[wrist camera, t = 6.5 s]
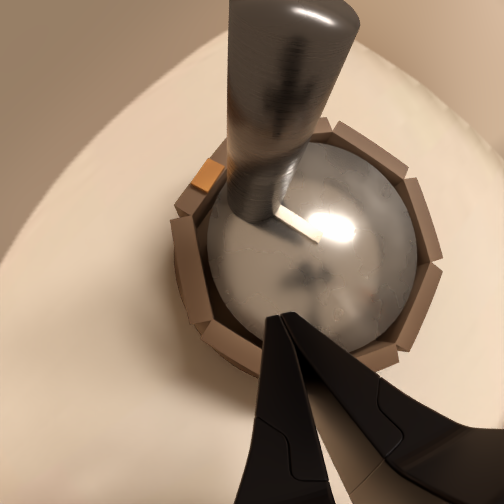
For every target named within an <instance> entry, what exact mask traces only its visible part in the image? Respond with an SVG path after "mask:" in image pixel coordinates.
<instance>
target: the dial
mask: <svg viewBox="0 0 504 504" xmlns="http://www.w3.org/2000/svg"><path fill="white" fill-rule="evenodd" d="M359 27H360V20H359V17H358V15H357V14H356V12H355V11H354V10H353V8H352V7H351V6H350V5H348V4H347V3H346V2H345V1H343V0H229V29H228V74H227V182H226V183H225V185H224V186H223V188H222V189H221V191H220V193H219V195H218V197H217V199H216V201H215V203H214V206H213V209H212V212H211V216H210V219H209V226H208V233H207V251H208V259H209V265H210V269H211V273H212V277H213V280H214V282H215V285H216V287H217V289H218V292H219V294H220V296H221V298H222V300H223V301H224V303H225V305H226V306H227V308H228V310H229V311H230V312H231V313H232V315H233V316H234V317H235V318H236V319H237V321H238V322H240V323H241V324H242V325H243V326H244V327H245V328H246V329H247V330H248V331H249V332H251V333H252V334H254V335H255V336H256V337H258V338H259V339H261V340H262V341H263V336H264V326H265V318H266V317H269V316H273V315H277V314H278V315H280V314H281V313H285V312H289V311H295V312H296V313H298V314H299V315H300V316H301V317H303V318H304V319H305V320H307V321H308V322H309V323H311V324H312V325H313V326H314V327H316V328H317V329H318V330H320V331H321V332H322V333H324V334H325V335H326V336H328V337H329V338H330V339H331V340H333V341H334V342H335V343H337V344H338V345H339V346H341V347H342V348H343V349H345V350H346V351H347V352H351V351H353V350H356V349H358V348H361V347H363V346H365V345H366V344H368V343H370V342H371V341H373V340H375V339H376V338H377V337H378V336H380V335H381V334H382V333H383V332H385V331H386V330H387V329H388V328H389V327H390V325H391V324H392V323H393V322H394V321H395V320H396V318H397V317H398V315H399V314H400V313H401V311H402V310H403V308H404V306H405V304H406V302H407V300H408V298H409V295H410V293H411V290H412V287H413V283H414V279H415V274H416V266H417V245H416V238H415V232H414V228H413V225H412V221H411V219H410V216H409V213H408V211H407V209H406V207H405V205H404V203H403V201H402V199H401V197H400V196H399V194H398V193H397V191H396V190H395V188H394V187H393V186H392V185H391V183H390V182H389V181H388V180H387V179H386V178H385V177H384V176H383V175H382V174H381V173H380V172H379V171H378V170H377V169H376V168H375V167H373V166H372V165H371V164H369V163H368V162H367V161H365V160H364V159H362V158H360V157H359V156H357V155H355V154H353V153H351V152H349V151H346V150H344V149H341V148H338V147H335V146H332V145H327V144H322V143H312V142H309V141H310V138H311V136H312V134H313V132H314V130H315V127H316V125H317V123H318V121H319V118H320V116H321V114H322V112H323V109H324V107H325V105H326V103H327V100H328V98H329V96H330V94H331V91H332V89H333V87H334V85H335V82H336V80H337V78H338V76H339V73H340V71H341V69H342V67H343V64H344V62H345V60H346V58H347V55H348V53H349V51H350V48H351V46H352V44H353V42H354V39H355V37H356V35H357V33H358V30H359Z"/></svg>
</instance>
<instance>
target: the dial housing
mask: <svg viewBox="0 0 504 504" xmlns="http://www.w3.org/2000/svg"><path fill="white" fill-rule="evenodd" d="M309 142H312V143H322V144H327V145H332V146H335V147H338V148H341V149H344V150H346V151H349V152H351V153H353V154H355V155H357V156H359V157H360V158H362V159H364V160H365V161H367V162H368V163H369V164H371V165H372V166H373V167H375V168H376V169H377V170H378V171H379V172H380V173H381V174H382V175H383V176H384V177H385V178H386V179H387V180H388V181H389V182H390V183H391V185H392V186H393V187H394V188H395V190H396V191H397V193H398V194H399V196H400V197H401V199H402V201H403V203H404V205H405V207H406V209H407V211H408V213H409V216H410V219H411V221H412V225H413V228H414V232H415V238H416V245H417V266H416V274H415V279H414V283H413V287H412V290H411V293H410V295H409V298H408V300H407V302H406V304H405V306H404V308H403V310H402V311H401V313H400V314H399V315H398V317H397V318H396V320H395V321H394V322H393V323H392V324H391V325H390V327H389V328H388V329H387V330H386V331H385V332H383V333H382V334H381V335H380V336H378V337H377V338H376V339H375V340H373V341H371V342H370V343H368V344H366V345H365V346H363V347H361V348H358V349H356V350H353V351H351V352H349V353H350V354H351V355H353V356H354V357H355V358H357V359H358V360H359V361H361V362H362V363H363V364H365V365H366V366H367V367H369V368H370V369H371V370H373V371H374V372H377V371H379V370H382V369H384V368H387V367H389V366H391V365H394V364H396V363H399V358H398V353H397V351H404V352H410V349H411V347H412V345H413V343H414V341H415V339H416V337H417V335H418V332H419V330H420V328H421V326H422V323H423V321H424V319H425V316H426V314H427V312H428V309H429V307H430V304H431V302H432V299H433V297H434V294H435V292H436V289H437V286H438V283H439V281H440V278H441V275H442V272H443V271H442V270H440V269H439V268H438V267H437V266H435V265H434V264H433V263H432V262H433V261H436V260H439V259H442V258H443V256H442V252H441V249H440V245H439V242H438V238H437V235H436V232H435V228H434V225H433V222H432V219H431V216H430V213H429V210H428V207H427V204H426V202H425V199H424V196H423V193H422V191H421V188H420V185H419V183H418V180H417V178H409V179H404V178H405V175H406V173H407V170H408V168H409V167H408V166H406V165H405V164H404V163H402V162H401V161H400V160H398V159H397V158H395V157H394V156H393V155H391V154H390V153H388V152H387V151H385V150H384V149H383V148H381V147H380V146H378V145H377V144H375V143H374V142H372V141H371V140H369V139H368V138H366V137H365V136H363V135H362V134H360V133H358V132H357V131H355V130H354V129H352V128H351V127H349V126H347V125H346V124H344V123H342V122H341V121H339V122H338V123H337V125H336V126H335V128H334V130H333V131H332V129H331V126H330V124H329V122H328V119H327V117H323V118H319V121H318V123H317V125H316V127H315V130H314V132H313V134H312V136H311V138H310V141H309ZM226 182H227V138H226V139H225V140H224V141H223V142H222V144H221V145H220V146H219V147H218V148H217V150H216V151H215V152H214V153H213V155H212V156H211V157H210V158H208V159H207V160H206V162H205V163H204V165H203V166H202V167H201V169H200V170H199V172H198V173H197V175H196V176H195V177H194V179H193V180H192V181H191V183H190V184H189V185H188V187H187V188H186V189H185V191H184V192H183V193H182V195H181V196H180V197H179V199H178V200H177V201H176V203H175V204H174V206H175V208H176V210H177V213H178V215H179V217H180V218H177V219H172V220H170V223H171V229H172V235H173V241H174V265H175V273H176V280H177V284H178V288H179V292H180V295H181V298H182V301H183V303H184V306H185V308H186V310H187V314H188V318H189V323H190V324H194V325H195V327H196V328H197V330H198V331H199V333H200V334H201V335H202V336H201V338H200V339H201V340H202V341H204V342H206V343H207V344H209V345H210V346H211V347H212V348H213V349H214V350H215V351H216V352H217V353H219V354H220V355H221V356H222V357H223V358H224V359H225V360H227V361H228V362H230V363H231V364H233V365H234V366H236V367H237V368H238V369H240V370H242V371H244V372H246V373H248V374H250V375H252V376H254V377H256V378H259V373H260V364H261V355H262V345H263V341H262V340H261V339H259V338H258V337H256V336H255V335H254V334H252V333H251V332H249V331H248V330H247V329H246V328H245V327H244V326H243V325H242V324H241V323H240V322H238V321H237V319H236V318H235V317H234V316H233V315H232V313H231V312H230V311H229V310H228V308H227V306H226V305H225V303H224V301H223V300H222V298H221V296H220V294H219V292H218V289H217V287H216V285H215V282H214V280H213V277H212V273H211V269H210V265H209V259H208V251H207V233H208V226H209V219H210V216H211V212H212V209H213V206H214V203H215V201H216V199H217V197H218V195H219V193H220V191H221V189H222V188H223V186H224V185H225V183H226Z"/></svg>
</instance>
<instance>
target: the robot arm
mask: <svg viewBox="0 0 504 504" xmlns="http://www.w3.org/2000/svg"><path fill="white" fill-rule="evenodd" d="M316 428H317V429H316ZM317 430H318V432H319V434H320V436H321V438H322V441H323V443H324V445H325V447H326V449H327V451H328V453H329V455H330V457H331V460H332V462H333V464H334V466H335V468H336V470H337V472H338V474H339V476H340V478H341V480H342V482H343V484H344V487H345V489H346V491H347V493H348V495H349V497H350V499H351V501H352V503H353V504H504V429H486V428H473V427H468V426H465V425H462V424H459V423H457V422H455V421H453V420H451V419H449V418H447V417H445V416H443V415H442V414H440V413H438V412H436V411H434V410H432V409H431V408H429V407H427V406H425V405H423V404H421V403H420V402H418V401H416V400H415V399H413V398H411V397H410V396H408V395H406V394H405V393H403V392H402V391H400V390H399V389H397V388H396V387H395V386H393V385H392V384H390V383H389V382H388V381H386V380H385V379H384V378H382V377H381V378H380V376H379V375H378V374H377V373H375V372H374V371H373V370H371V369H370V368H369V367H367V366H366V365H365V364H363V363H362V362H361V361H359V360H358V359H357V358H355V357H354V356H353V355H351V354H350V353H349V352H347V351H346V350H345V349H343V348H342V347H341V346H339V345H338V344H337V343H335V342H334V341H333V340H331V339H330V338H329V337H328V336H326V335H325V334H324V333H322V332H321V331H320V330H318V329H317V328H316V327H314V326H313V325H312V324H311V323H309V322H308V321H307V320H305V319H304V318H303V317H301V316H300V315H299V314H298V313H296V312H295V311H289V312H285V313H281V314H280V315H278V314H277V315H273V316H269V317H266V318H265V326H264V336H263V345H262V355H261V364H260V373H259V382H258V391H257V400H256V409H255V418H254V425H253V432H252V439H251V445H250V450H249V454H248V458H247V462H246V465H245V469H244V472H243V475H242V479H241V482H240V485H239V489H238V492H237V495H236V498H235V501H234V504H336V503H335V500H334V497H333V494H332V491H331V487H330V483H329V482H328V481H329V478H328V474H327V470H326V466H325V462H324V458H323V454H322V450H321V446H320V441H319V437H318V433H317Z"/></svg>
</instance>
